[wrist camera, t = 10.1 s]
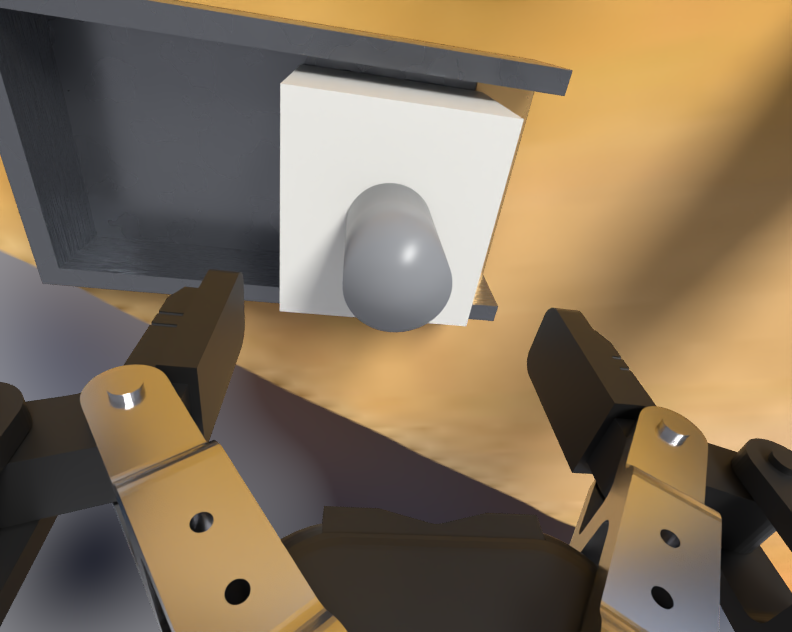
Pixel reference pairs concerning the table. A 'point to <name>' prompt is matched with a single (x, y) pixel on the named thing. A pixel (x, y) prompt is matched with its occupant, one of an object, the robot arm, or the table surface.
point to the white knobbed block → (387, 196)
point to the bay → (186, 132)
